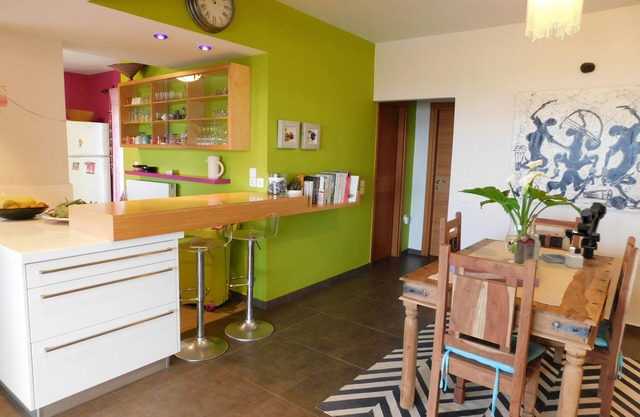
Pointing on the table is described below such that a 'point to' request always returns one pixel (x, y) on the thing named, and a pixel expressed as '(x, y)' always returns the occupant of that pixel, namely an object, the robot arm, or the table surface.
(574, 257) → the medicine bottle
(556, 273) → the table surface
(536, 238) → the plastic bottle
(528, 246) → the juice carton
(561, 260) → the bottle holder
